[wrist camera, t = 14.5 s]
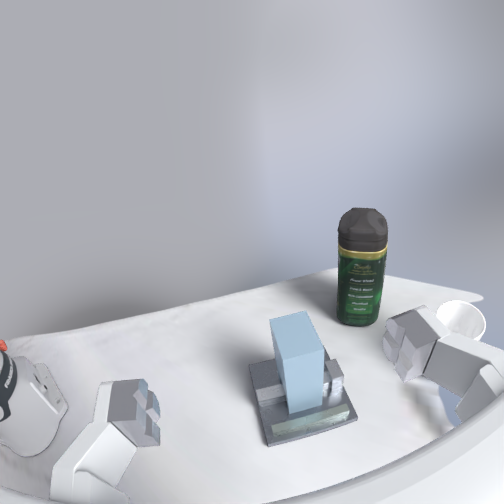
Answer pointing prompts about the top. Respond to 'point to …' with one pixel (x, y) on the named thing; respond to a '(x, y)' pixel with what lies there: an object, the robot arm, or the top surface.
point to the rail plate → (307, 421)
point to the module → (298, 360)
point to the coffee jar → (361, 265)
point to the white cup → (462, 319)
